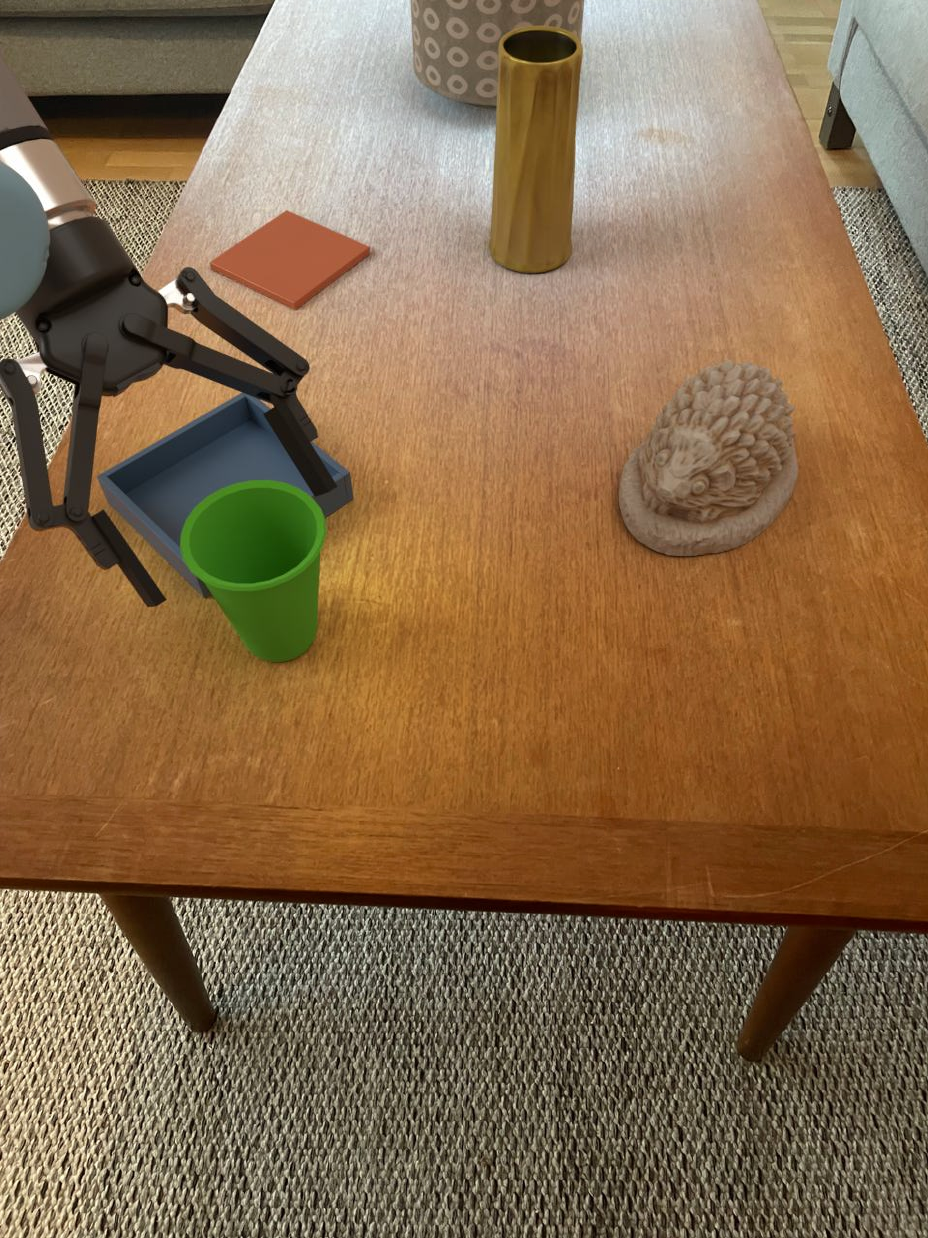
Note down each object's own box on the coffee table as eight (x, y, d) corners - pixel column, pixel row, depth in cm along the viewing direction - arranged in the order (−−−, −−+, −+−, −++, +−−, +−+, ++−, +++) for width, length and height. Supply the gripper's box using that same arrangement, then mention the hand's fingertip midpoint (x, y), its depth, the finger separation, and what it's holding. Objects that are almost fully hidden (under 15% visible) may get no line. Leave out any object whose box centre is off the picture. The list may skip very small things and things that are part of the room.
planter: (564, 49, 122) (577, -127, 107) (587, 128, 111) (605, -57, 96) (411, 56, 121) (402, -120, 107) (418, 136, 110) (410, -49, 95)
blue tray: (204, 598, 72) (194, 572, 69) (107, 502, 78) (95, 475, 75) (354, 498, 78) (350, 471, 75) (253, 416, 83) (247, 388, 81)
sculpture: (580, 508, 77) (593, 410, 69) (702, 398, 84) (727, 298, 76) (710, 588, 72) (739, 493, 64) (827, 464, 79) (867, 365, 71)
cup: (191, 630, 70) (151, 527, 61) (295, 564, 74) (271, 457, 65) (264, 711, 66) (231, 614, 57) (370, 637, 70) (355, 534, 61)
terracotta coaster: (295, 310, 92) (293, 302, 91) (210, 269, 96) (209, 261, 95) (370, 253, 97) (369, 246, 96) (287, 216, 101) (286, 209, 100)
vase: (514, 284, 94) (522, 76, 78) (473, 240, 98) (473, 35, 83) (587, 259, 96) (609, 52, 81) (544, 217, 100) (556, 13, 85)
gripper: (203, 186, 67) (367, 458, 73) (-154, 354, 57) (69, 654, 63) (234, 138, 60) (412, 441, 66) (-163, 319, 50) (86, 657, 56)
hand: (245, 545), depth 64 cm, fingers open, 13 cm apart
